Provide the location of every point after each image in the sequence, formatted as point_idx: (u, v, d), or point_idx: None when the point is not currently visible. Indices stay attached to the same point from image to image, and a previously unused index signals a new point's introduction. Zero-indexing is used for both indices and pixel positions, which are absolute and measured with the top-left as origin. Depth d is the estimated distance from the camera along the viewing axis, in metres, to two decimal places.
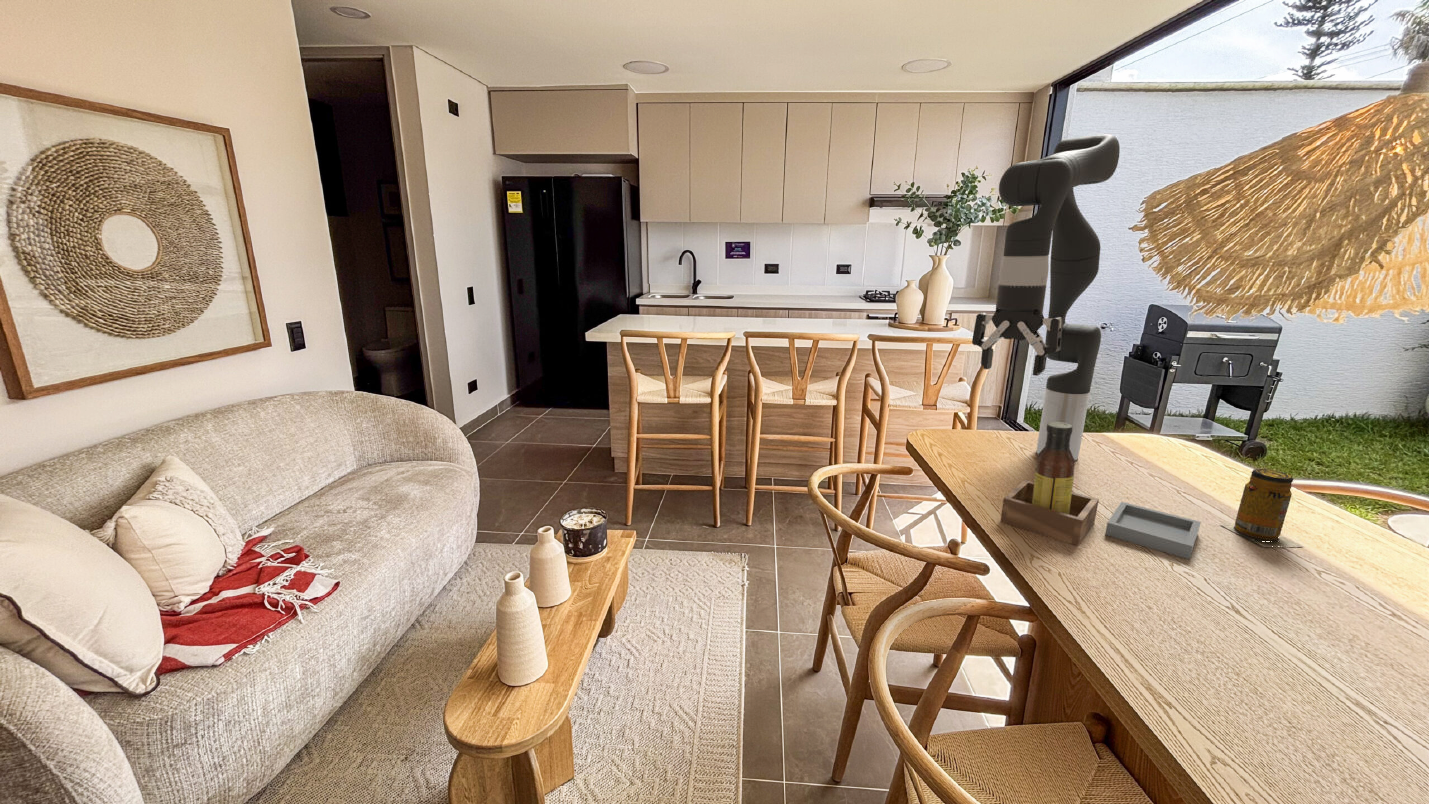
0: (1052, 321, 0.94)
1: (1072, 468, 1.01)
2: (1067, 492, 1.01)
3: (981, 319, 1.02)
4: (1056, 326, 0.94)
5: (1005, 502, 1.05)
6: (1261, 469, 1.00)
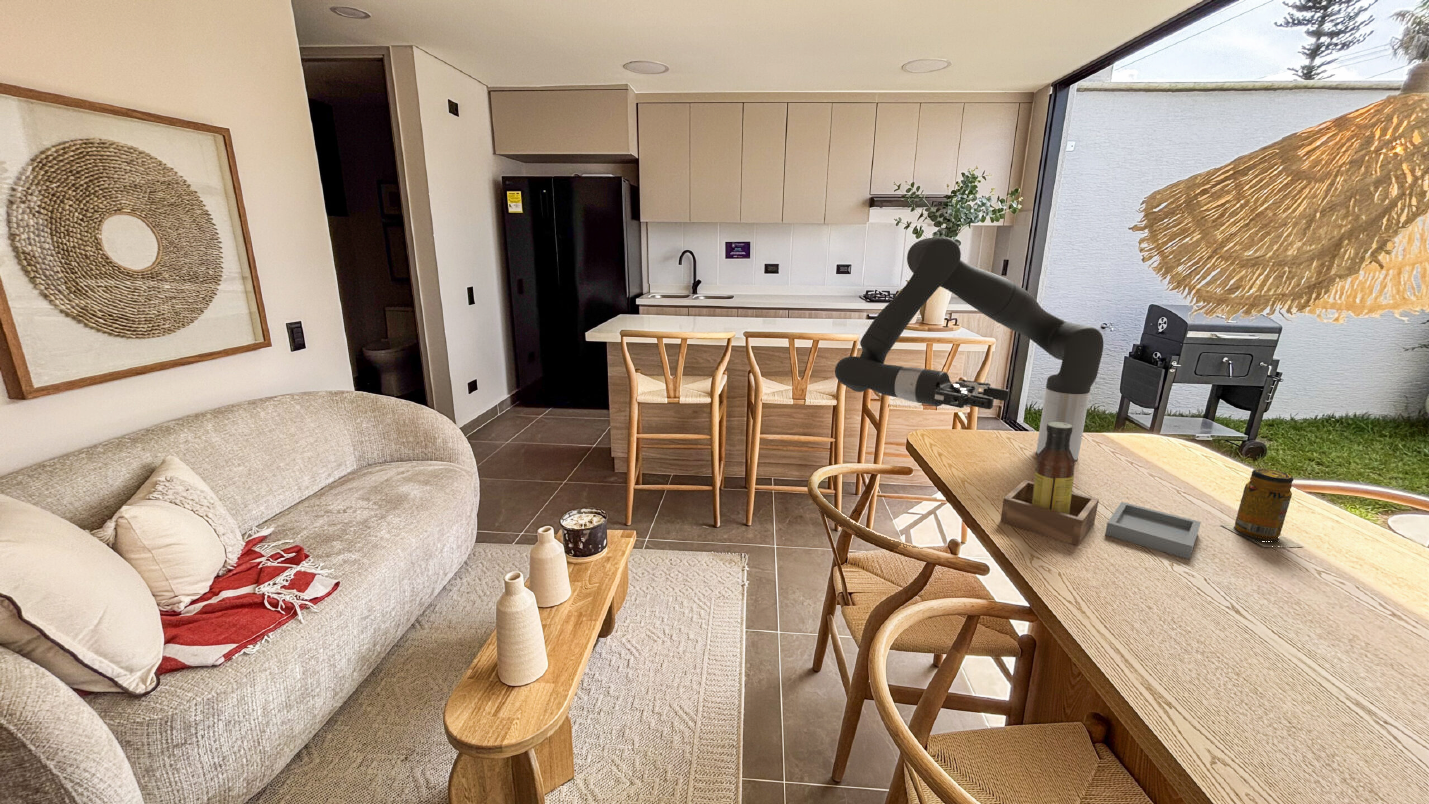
0: None
1: (1072, 468, 1.01)
2: (1067, 491, 1.01)
3: None
4: None
5: (1005, 502, 1.05)
6: (1261, 469, 1.00)
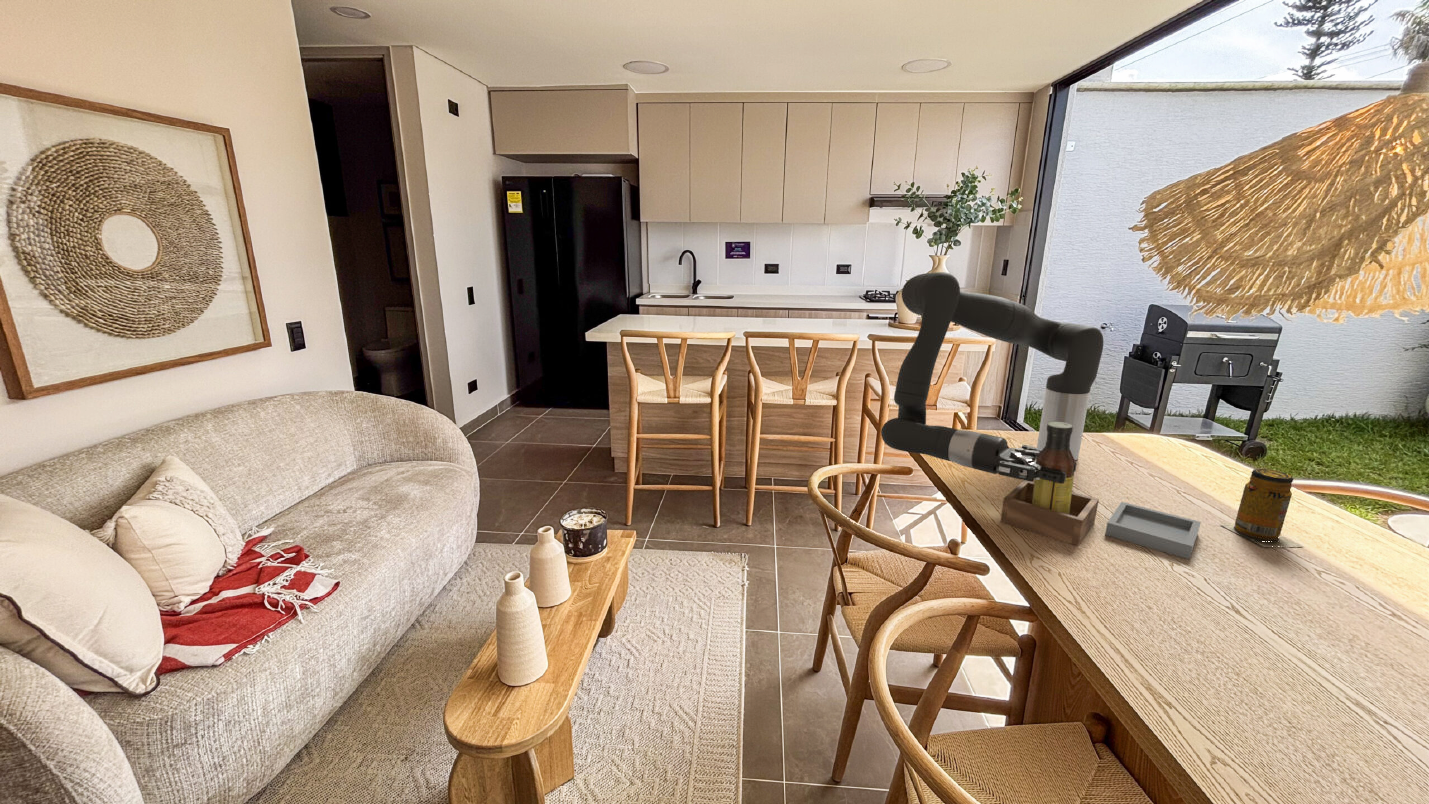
0: None
1: (1072, 468, 1.01)
2: (1067, 491, 1.01)
3: None
4: None
5: (1005, 502, 1.05)
6: (1261, 469, 1.00)
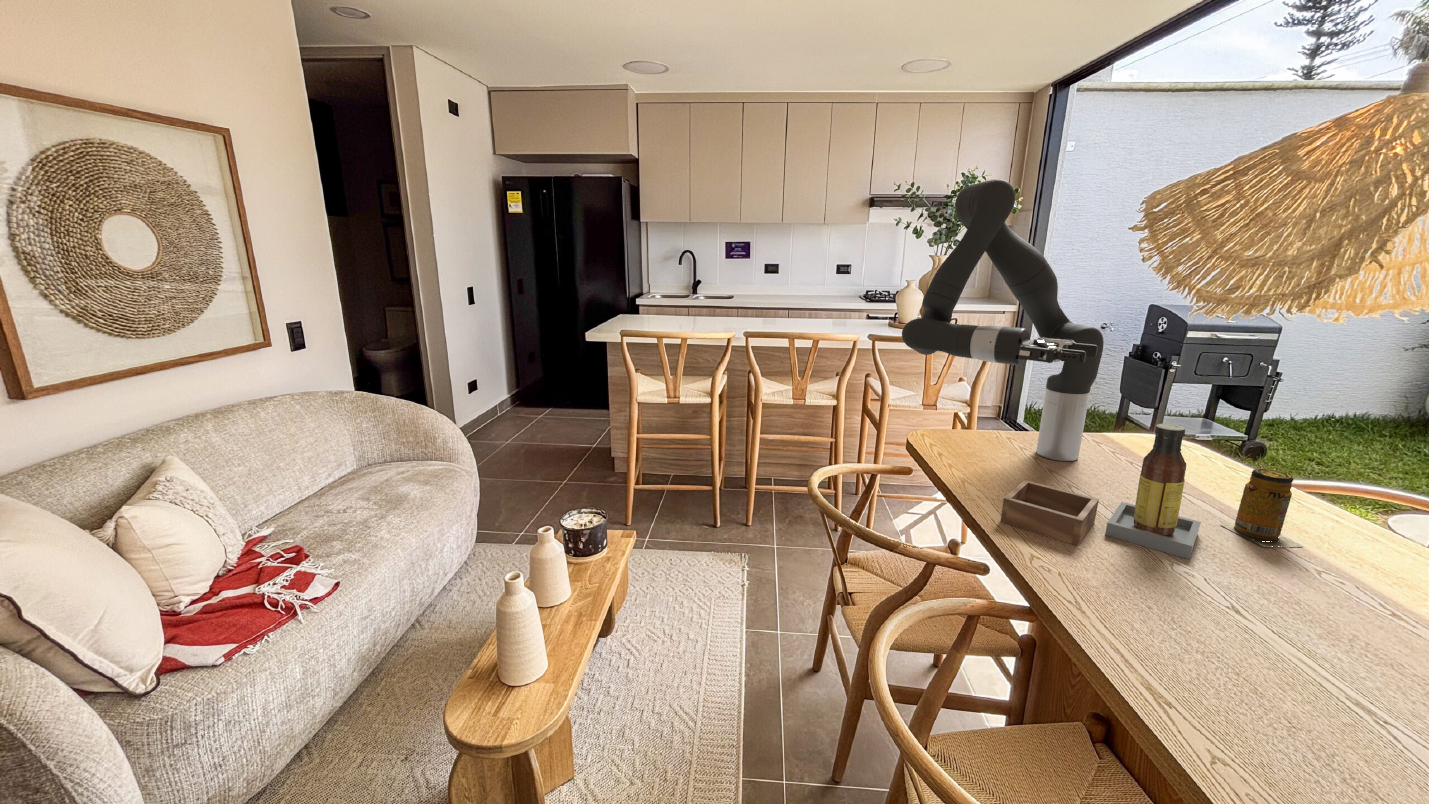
0: None
1: (1184, 472, 0.95)
2: (1178, 497, 0.96)
3: None
4: None
5: (1005, 502, 1.05)
6: (1261, 469, 1.00)
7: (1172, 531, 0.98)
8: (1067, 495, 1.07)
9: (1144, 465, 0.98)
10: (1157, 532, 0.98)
